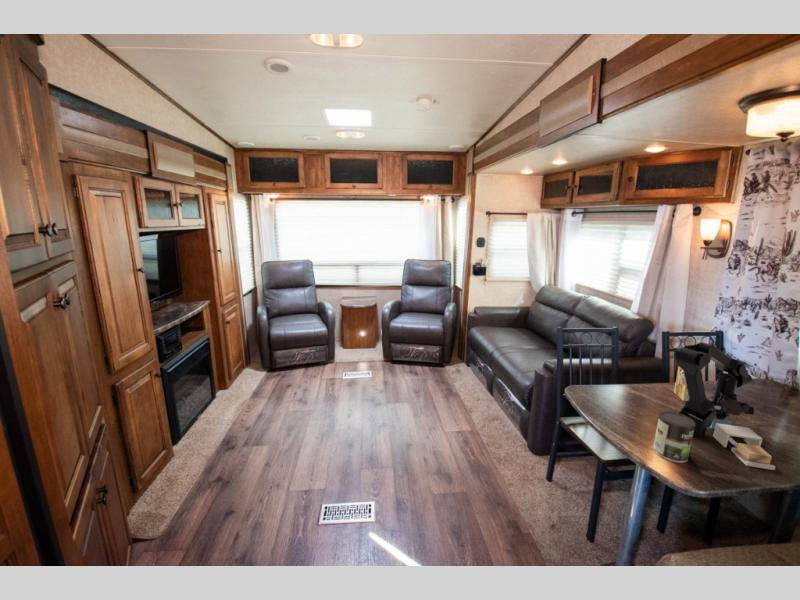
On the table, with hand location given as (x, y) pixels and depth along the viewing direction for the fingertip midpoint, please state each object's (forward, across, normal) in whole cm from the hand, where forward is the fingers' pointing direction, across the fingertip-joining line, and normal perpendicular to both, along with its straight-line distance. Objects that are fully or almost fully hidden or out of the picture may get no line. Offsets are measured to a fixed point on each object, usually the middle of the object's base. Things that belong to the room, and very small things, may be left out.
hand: (717, 423), depth 138 cm
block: (+1, 0, -21) cm, 21 cm away
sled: (+2, 0, -13) cm, 14 cm away
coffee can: (+3, -25, -23) cm, 34 cm away
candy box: (+3, 0, +28) cm, 28 cm away
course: (+2, 0, -12) cm, 12 cm away
